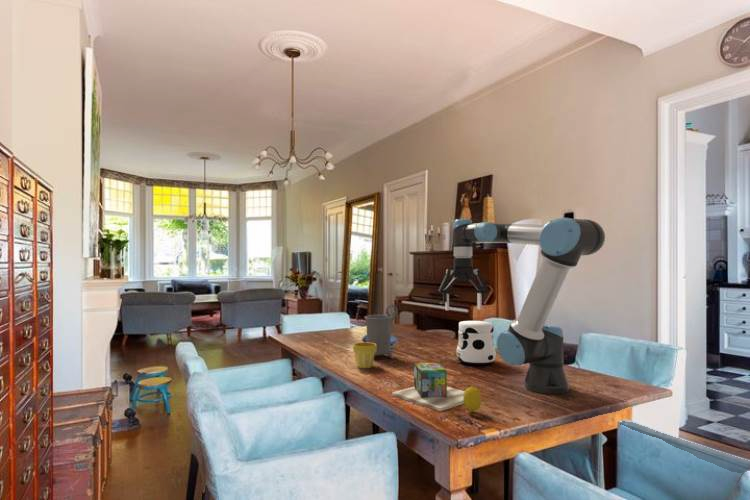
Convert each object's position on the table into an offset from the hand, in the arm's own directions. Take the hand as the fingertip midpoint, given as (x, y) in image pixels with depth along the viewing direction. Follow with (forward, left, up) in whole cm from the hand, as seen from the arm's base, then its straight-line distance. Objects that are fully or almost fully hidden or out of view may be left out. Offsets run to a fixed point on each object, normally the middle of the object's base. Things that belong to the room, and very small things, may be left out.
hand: (463, 309), depth 185 cm
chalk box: (-4, +27, -21) cm, 34 cm away
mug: (+49, +2, -27) cm, 56 cm away
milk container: (+10, -22, -27) cm, 36 cm away
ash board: (-11, +30, -26) cm, 42 cm away
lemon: (-29, +33, -27) cm, 52 cm away
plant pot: (+39, +20, -27) cm, 51 cm away
